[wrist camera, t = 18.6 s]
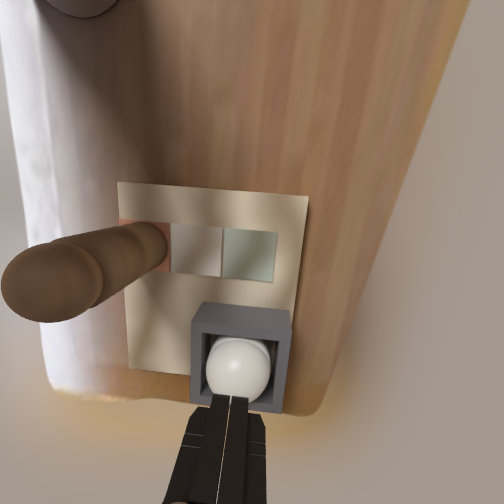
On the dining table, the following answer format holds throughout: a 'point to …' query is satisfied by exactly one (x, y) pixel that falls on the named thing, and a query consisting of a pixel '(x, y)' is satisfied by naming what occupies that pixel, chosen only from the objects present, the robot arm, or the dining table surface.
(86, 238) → the pawn
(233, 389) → the dome button
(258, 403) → the dome frame
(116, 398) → the dining table surface
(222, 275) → the game board
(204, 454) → the robot arm
